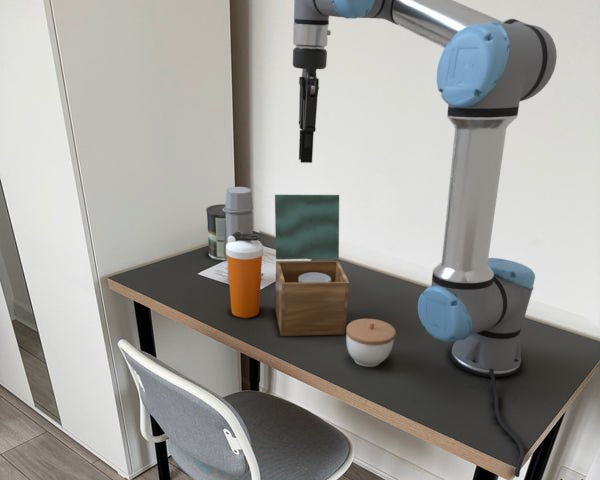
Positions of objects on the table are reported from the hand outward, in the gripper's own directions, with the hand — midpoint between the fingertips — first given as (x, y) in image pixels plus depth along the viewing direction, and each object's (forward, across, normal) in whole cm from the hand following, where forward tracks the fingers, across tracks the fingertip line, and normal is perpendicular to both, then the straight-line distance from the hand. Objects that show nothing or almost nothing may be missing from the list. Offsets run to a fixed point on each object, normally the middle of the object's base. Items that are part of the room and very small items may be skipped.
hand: (305, 160), depth 141 cm
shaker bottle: (+35, -11, +16) cm, 40 cm away
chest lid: (+14, -8, 0) cm, 16 cm away
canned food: (+34, -18, -1) cm, 38 cm away
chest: (+35, -18, 0) cm, 39 cm away
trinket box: (+35, -37, -10) cm, 52 cm away
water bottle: (+35, +10, +16) cm, 40 cm away
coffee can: (+35, +30, +20) cm, 50 cm away
